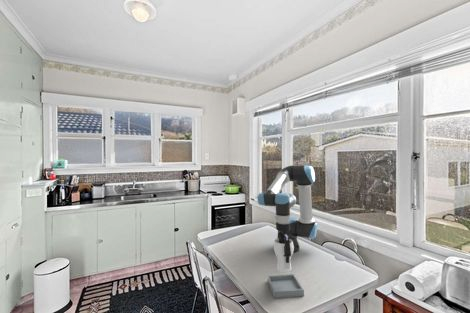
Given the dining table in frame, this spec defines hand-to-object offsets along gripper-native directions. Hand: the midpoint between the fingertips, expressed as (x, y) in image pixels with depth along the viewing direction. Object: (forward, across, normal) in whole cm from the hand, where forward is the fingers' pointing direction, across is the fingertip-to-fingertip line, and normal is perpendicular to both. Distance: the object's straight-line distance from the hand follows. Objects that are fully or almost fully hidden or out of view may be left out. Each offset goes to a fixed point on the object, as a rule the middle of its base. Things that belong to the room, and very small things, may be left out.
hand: (284, 263), depth 122 cm
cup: (+3, 0, 0) cm, 3 cm away
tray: (+14, 0, 0) cm, 14 cm away
